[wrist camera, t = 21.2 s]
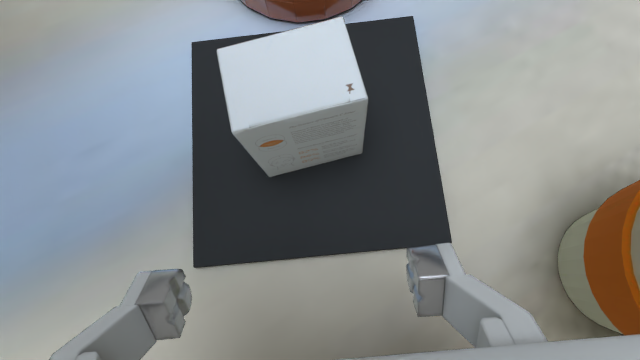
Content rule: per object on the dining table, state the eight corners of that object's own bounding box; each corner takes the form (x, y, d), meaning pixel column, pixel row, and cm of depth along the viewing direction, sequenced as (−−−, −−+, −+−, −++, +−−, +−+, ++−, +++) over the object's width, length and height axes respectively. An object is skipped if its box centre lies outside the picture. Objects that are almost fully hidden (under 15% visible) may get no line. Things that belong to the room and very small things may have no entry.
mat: (196, 267, 31) (193, 267, 30) (193, 45, 35) (191, 42, 35) (450, 243, 30) (452, 243, 29) (411, 19, 35) (413, 15, 34)
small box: (346, 94, 33) (346, 12, 22) (363, 155, 31) (371, 97, 21) (254, 117, 33) (213, 45, 22) (267, 179, 31) (229, 133, 21)
